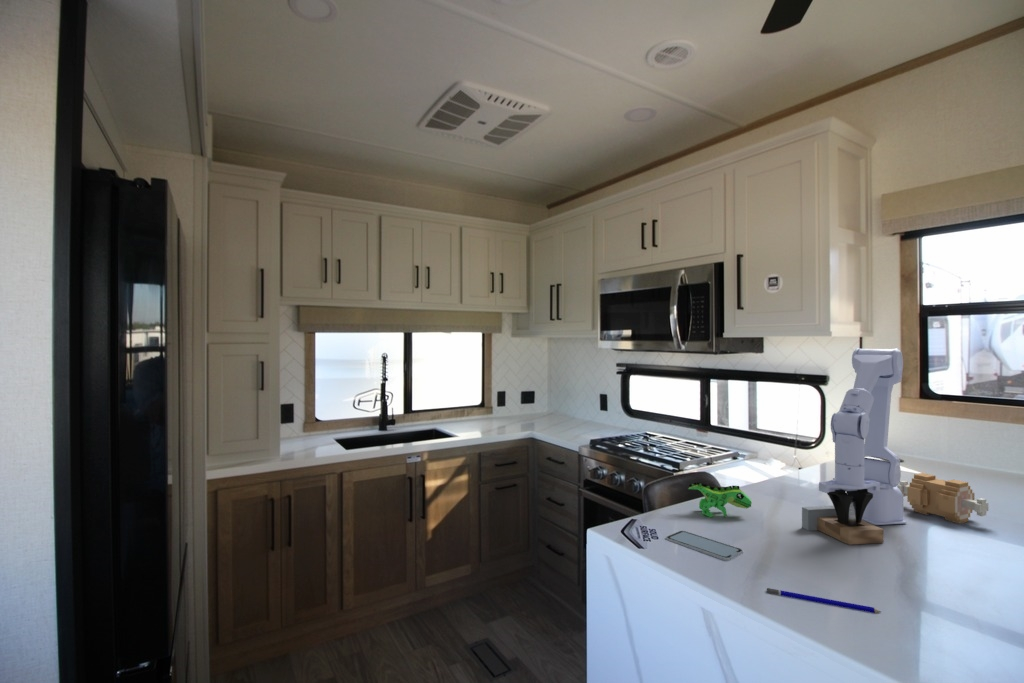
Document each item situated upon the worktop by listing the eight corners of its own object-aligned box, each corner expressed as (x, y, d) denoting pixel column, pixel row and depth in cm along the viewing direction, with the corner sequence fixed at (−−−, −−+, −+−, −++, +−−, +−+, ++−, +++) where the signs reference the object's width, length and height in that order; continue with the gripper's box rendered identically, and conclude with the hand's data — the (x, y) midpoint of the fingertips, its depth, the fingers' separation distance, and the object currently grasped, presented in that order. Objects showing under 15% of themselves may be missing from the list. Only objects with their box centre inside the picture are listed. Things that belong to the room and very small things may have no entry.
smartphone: (681, 530, 116) (744, 549, 105) (682, 533, 116) (744, 553, 105) (664, 537, 112) (727, 559, 100) (664, 541, 112) (727, 563, 100)
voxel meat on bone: (912, 503, 139) (912, 468, 139) (994, 525, 122) (994, 485, 122) (890, 508, 135) (890, 471, 135) (973, 530, 118) (973, 489, 118)
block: (850, 527, 119) (850, 515, 119) (883, 542, 110) (883, 529, 110) (817, 529, 118) (817, 517, 118) (848, 544, 109) (848, 531, 109)
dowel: (847, 528, 116) (847, 498, 116) (859, 532, 113) (859, 501, 113) (837, 529, 115) (837, 499, 116) (849, 533, 112) (848, 502, 113)
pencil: (766, 594, 87) (766, 588, 87) (766, 592, 88) (766, 586, 88) (882, 616, 81) (881, 610, 81) (880, 613, 81) (880, 607, 81)
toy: (742, 531, 124) (757, 495, 124) (683, 506, 127) (697, 470, 127) (736, 523, 130) (751, 488, 130) (680, 499, 133) (693, 465, 133)
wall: (852, 524, 122) (852, 504, 122) (858, 527, 120) (858, 507, 120) (801, 527, 119) (802, 507, 119) (808, 530, 117) (808, 509, 117)
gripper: (861, 458, 119) (861, 514, 119) (808, 460, 117) (808, 517, 117) (888, 465, 112) (888, 524, 112) (832, 467, 110) (832, 528, 110)
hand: (849, 521), depth 114 cm, fingers closed on dowel, 3 cm apart
